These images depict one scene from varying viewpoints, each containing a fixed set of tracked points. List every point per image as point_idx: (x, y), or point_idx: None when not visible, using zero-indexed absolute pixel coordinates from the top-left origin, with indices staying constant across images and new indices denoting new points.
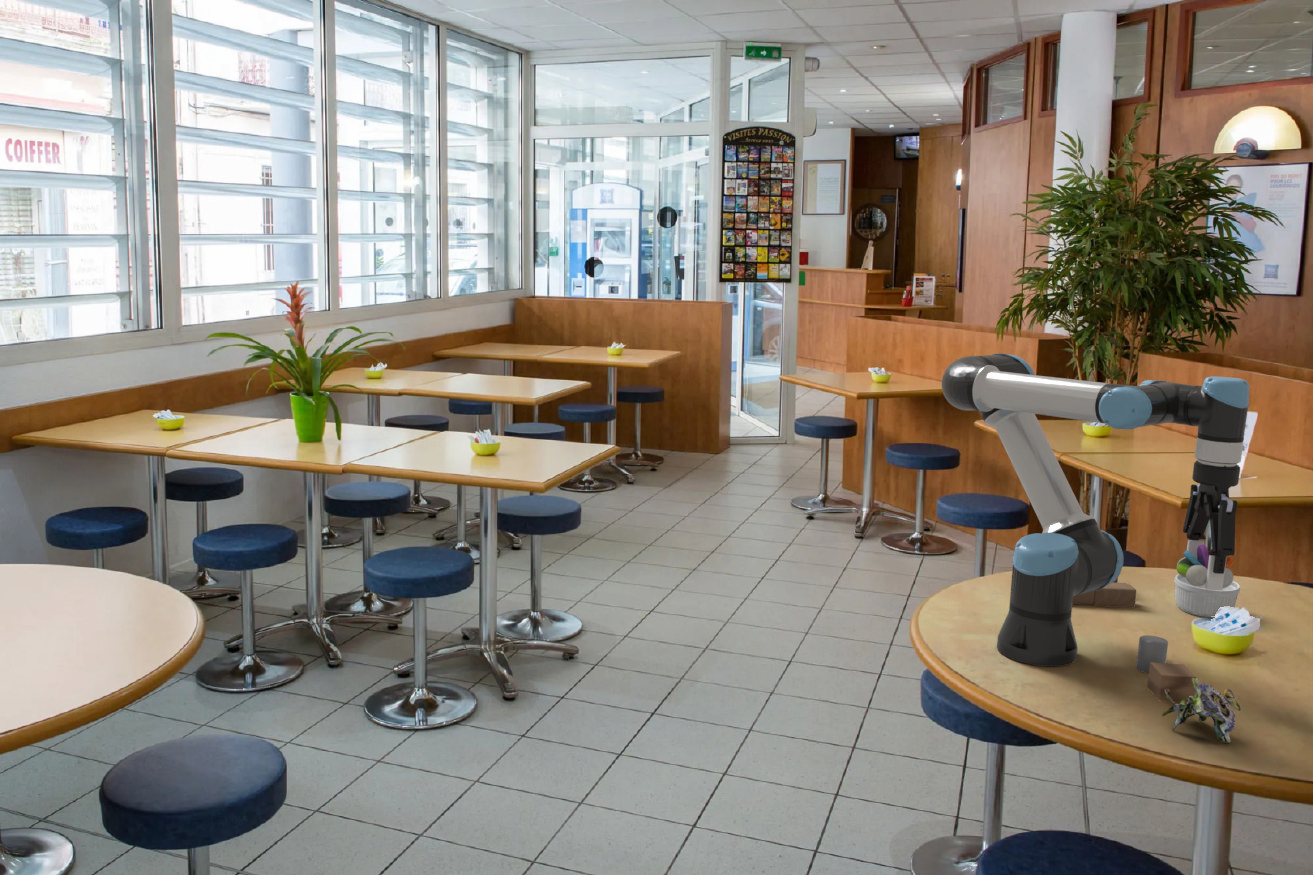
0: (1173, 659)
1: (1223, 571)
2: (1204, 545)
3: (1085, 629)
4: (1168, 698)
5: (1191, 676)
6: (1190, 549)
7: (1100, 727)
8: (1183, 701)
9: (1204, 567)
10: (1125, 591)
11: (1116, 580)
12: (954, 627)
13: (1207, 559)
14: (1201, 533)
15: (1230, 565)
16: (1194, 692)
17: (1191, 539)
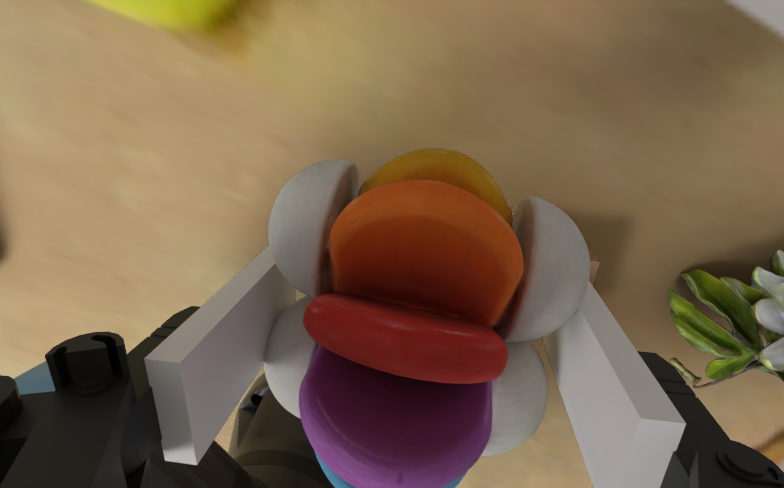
0: (309, 156)
1: (670, 370)
2: (399, 484)
3: (152, 280)
4: (677, 359)
5: (593, 272)
6: (231, 399)
7: None
8: (732, 356)
9: (514, 406)
10: None
11: None
12: None
13: (491, 417)
14: (117, 441)
15: (515, 237)
16: (587, 246)
17: (157, 441)
